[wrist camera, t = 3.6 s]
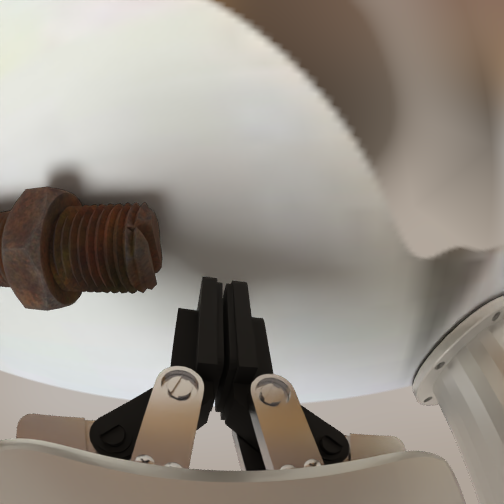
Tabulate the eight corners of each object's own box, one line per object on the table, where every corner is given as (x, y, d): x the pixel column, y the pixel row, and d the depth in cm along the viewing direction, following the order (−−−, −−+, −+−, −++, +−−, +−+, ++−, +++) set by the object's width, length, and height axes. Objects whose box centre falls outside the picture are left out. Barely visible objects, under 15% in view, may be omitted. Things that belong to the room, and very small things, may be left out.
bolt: (172, 222, 14) (-36, 231, 12) (156, 137, 9) (-76, 182, 8) (163, 346, 11) (-60, 314, 9) (126, 300, 6) (-114, 276, 5)
